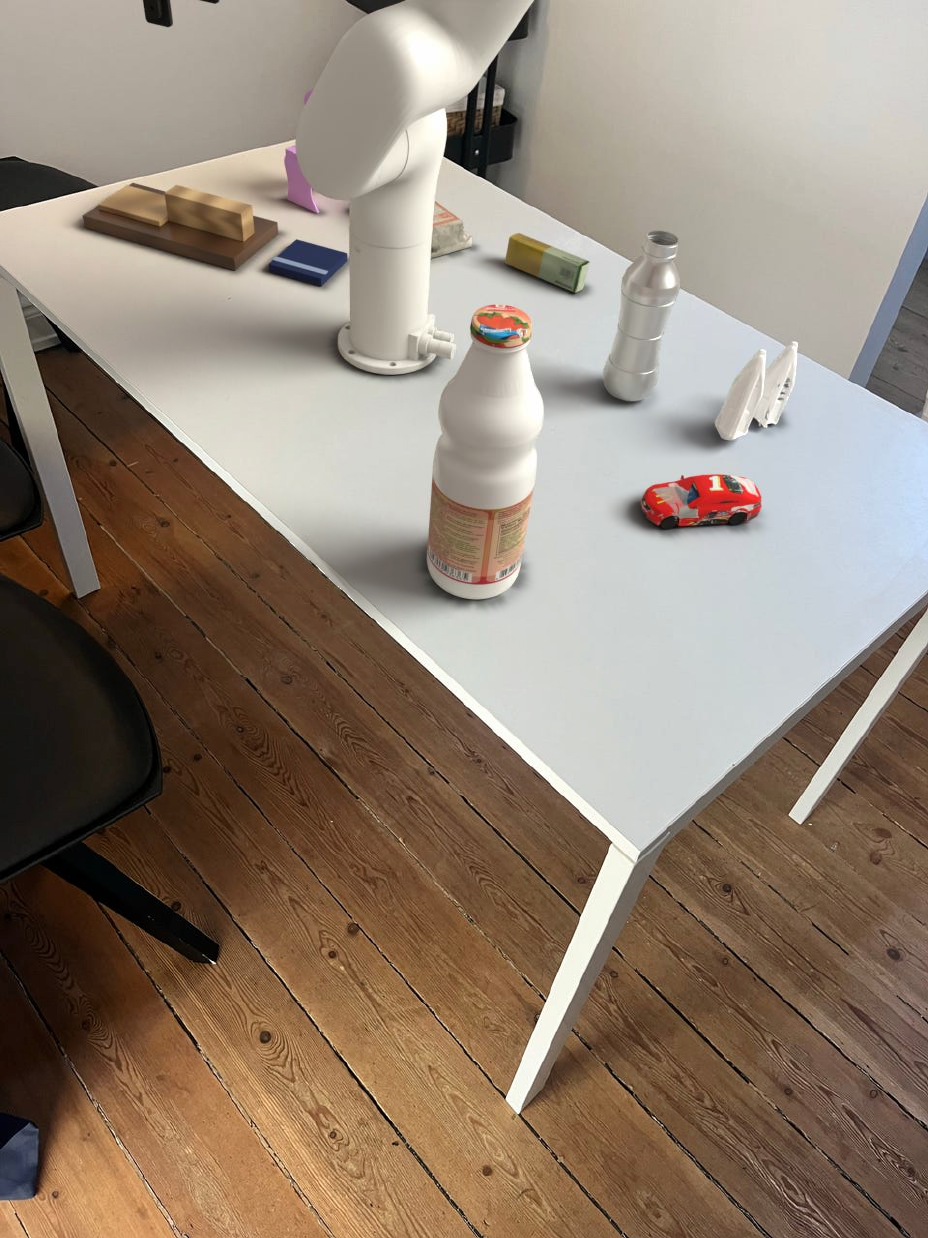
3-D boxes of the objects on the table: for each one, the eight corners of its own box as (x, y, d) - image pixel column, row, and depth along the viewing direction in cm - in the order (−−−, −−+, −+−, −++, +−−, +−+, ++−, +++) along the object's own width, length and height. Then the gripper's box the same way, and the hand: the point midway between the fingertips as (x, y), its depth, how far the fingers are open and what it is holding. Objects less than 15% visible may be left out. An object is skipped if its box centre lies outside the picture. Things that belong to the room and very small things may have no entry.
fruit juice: (427, 601, 95) (445, 350, 74) (424, 535, 101) (440, 285, 81) (523, 603, 96) (567, 354, 75) (515, 536, 102) (553, 290, 81)
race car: (645, 532, 104) (653, 503, 101) (632, 498, 108) (639, 470, 105) (762, 526, 106) (773, 498, 103) (745, 493, 110) (756, 465, 107)
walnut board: (278, 233, 141) (277, 221, 140) (235, 270, 133) (234, 258, 132) (134, 194, 146) (132, 182, 145) (85, 227, 138) (82, 215, 137)
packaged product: (477, 215, 139) (420, 231, 135) (474, 247, 143) (418, 264, 138) (405, 165, 148) (349, 179, 144) (404, 197, 152) (349, 211, 147)
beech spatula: (261, 226, 139) (259, 199, 136) (236, 248, 134) (233, 219, 131) (127, 190, 143) (122, 162, 140) (98, 209, 138) (92, 181, 135)
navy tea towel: (347, 260, 138) (347, 252, 137) (321, 286, 132) (321, 277, 131) (296, 246, 139) (296, 238, 138) (268, 271, 134) (268, 262, 133)
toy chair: (279, 198, 149) (273, 92, 137) (319, 180, 154) (316, 77, 142) (320, 216, 146) (317, 110, 134) (359, 198, 151) (359, 94, 139)
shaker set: (727, 453, 115) (755, 373, 106) (700, 435, 117) (725, 354, 108) (789, 418, 120) (820, 339, 112) (762, 401, 122) (791, 322, 114)
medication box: (584, 288, 138) (591, 260, 135) (575, 294, 136) (582, 266, 133) (512, 257, 141) (517, 230, 139) (502, 263, 140) (508, 235, 137)
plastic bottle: (656, 410, 119) (697, 255, 104) (600, 405, 119) (634, 249, 104) (650, 379, 124) (689, 226, 109) (597, 375, 123) (629, 221, 109)
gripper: (144, -158, 94) (170, 41, 106) (237, -184, 105) (251, -2, 117) (77, -171, 95) (110, 26, 108) (176, -195, 106) (196, -14, 119)
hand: (183, 12), depth 113 cm, fingers open, 9 cm apart
